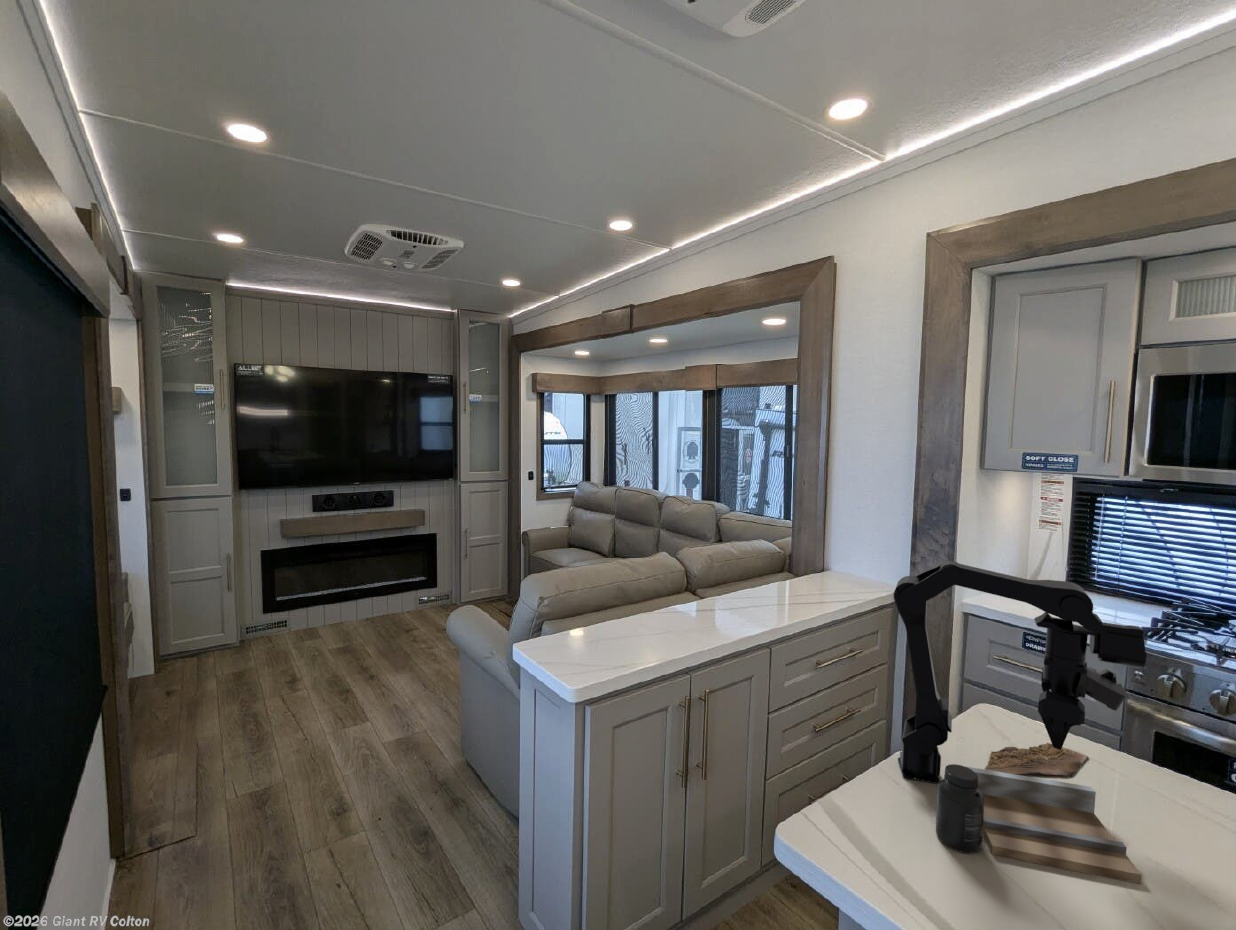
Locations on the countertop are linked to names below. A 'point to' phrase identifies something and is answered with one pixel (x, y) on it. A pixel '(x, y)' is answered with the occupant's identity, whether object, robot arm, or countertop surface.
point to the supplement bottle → (960, 810)
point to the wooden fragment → (1035, 760)
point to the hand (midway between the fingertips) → (1057, 737)
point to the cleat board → (1050, 825)
